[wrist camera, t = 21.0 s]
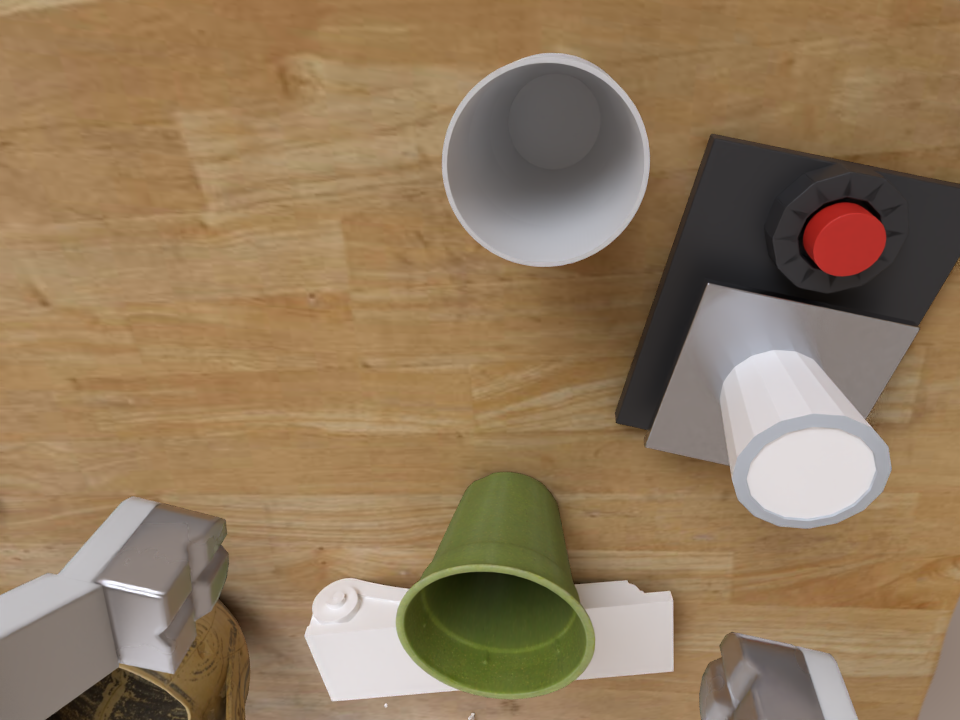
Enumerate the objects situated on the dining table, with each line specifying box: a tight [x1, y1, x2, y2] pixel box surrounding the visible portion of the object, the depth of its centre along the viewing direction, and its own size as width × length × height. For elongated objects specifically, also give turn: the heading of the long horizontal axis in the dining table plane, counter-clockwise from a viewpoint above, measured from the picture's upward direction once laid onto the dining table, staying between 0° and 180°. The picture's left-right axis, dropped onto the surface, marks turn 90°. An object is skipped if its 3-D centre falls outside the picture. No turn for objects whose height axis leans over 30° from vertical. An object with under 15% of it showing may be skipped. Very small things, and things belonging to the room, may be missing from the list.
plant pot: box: [396, 472, 595, 699], centre depth 43 cm, size 12×12×11 cm
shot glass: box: [720, 350, 892, 529], centre depth 33 cm, size 7×7×7 cm
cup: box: [442, 53, 650, 267], centre depth 30 cm, size 8×8×10 cm
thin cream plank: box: [305, 578, 674, 701], centre depth 53 cm, size 10×7×28 cm
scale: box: [615, 134, 960, 430], centre depth 36 cm, size 18×14×3 cm
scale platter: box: [644, 278, 920, 466], centre depth 36 cm, size 11×11×1 cm
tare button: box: [803, 202, 886, 276], centre depth 32 cm, size 3×3×2 cm
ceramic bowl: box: [46, 599, 250, 720], centre depth 53 cm, size 22×17×15 cm
